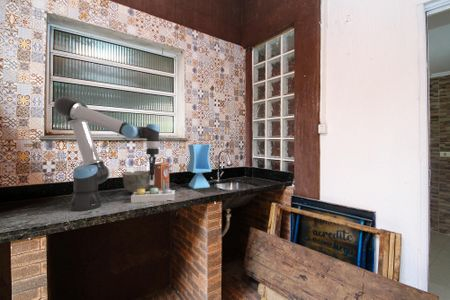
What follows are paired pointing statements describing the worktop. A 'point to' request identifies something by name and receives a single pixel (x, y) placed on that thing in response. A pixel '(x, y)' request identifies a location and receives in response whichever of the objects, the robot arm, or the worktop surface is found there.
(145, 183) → the bowl
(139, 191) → the button mustard
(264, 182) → the worktop surface
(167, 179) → the cracker box
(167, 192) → the button blue
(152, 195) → the console
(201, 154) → the planter
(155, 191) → the button sage
